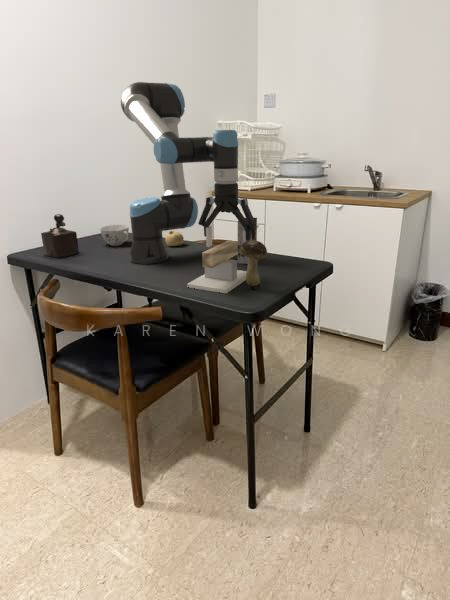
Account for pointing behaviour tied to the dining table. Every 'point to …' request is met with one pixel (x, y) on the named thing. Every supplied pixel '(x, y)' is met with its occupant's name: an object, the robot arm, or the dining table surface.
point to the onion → (174, 238)
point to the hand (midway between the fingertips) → (227, 248)
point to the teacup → (115, 234)
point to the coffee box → (242, 258)
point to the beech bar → (219, 254)
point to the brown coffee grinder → (59, 240)
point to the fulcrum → (220, 278)
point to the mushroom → (253, 260)
